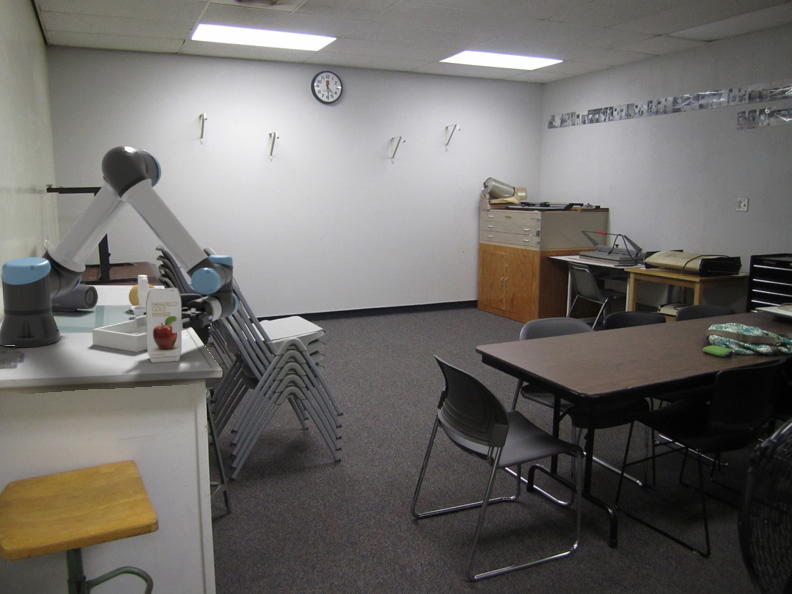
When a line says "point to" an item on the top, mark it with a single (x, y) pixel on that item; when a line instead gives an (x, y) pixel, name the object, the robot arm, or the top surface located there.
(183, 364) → the top surface
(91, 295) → the bluetooth speaker
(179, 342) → the juice carton
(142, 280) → the figurine
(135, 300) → the stress ball
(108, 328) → the walled box
